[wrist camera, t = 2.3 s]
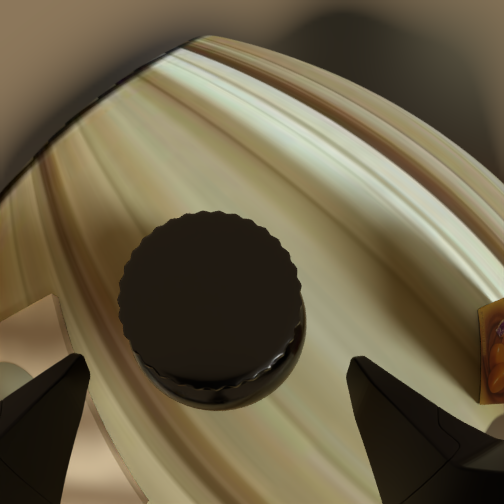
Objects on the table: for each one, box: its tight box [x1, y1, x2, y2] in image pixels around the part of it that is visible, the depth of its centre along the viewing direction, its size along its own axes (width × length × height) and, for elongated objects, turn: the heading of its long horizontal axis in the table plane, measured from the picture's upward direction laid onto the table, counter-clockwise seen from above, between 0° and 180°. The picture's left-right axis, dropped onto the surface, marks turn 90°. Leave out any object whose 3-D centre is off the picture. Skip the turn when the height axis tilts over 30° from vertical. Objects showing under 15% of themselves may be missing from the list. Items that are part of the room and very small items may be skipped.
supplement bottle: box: [117, 211, 306, 411], centre depth 13 cm, size 7×7×12 cm
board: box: [0, 293, 149, 504], centre depth 13 cm, size 16×16×1 cm
